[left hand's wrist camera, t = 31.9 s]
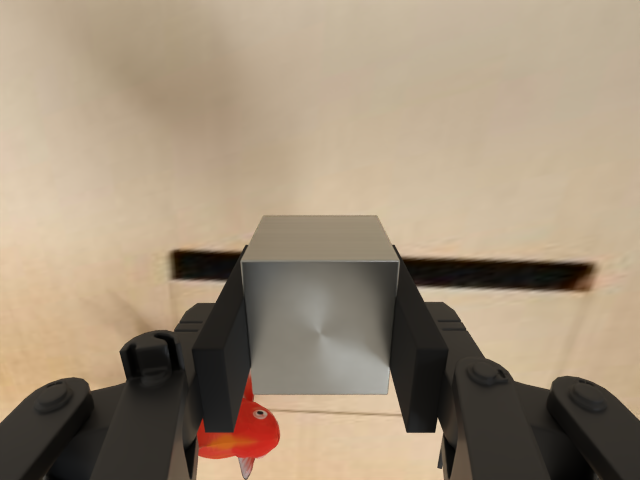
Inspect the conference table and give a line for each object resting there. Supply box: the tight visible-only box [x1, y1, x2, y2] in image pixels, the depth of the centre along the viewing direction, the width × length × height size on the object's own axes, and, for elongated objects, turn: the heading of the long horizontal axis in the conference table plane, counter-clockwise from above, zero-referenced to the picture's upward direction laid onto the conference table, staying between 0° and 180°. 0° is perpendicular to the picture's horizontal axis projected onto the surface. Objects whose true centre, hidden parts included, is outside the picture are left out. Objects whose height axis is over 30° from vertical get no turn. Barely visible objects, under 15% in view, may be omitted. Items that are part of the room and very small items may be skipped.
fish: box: [197, 369, 280, 480], centre depth 27 cm, size 11×16×10 cm
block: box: [240, 215, 400, 395], centre depth 13 cm, size 5×5×4 cm
